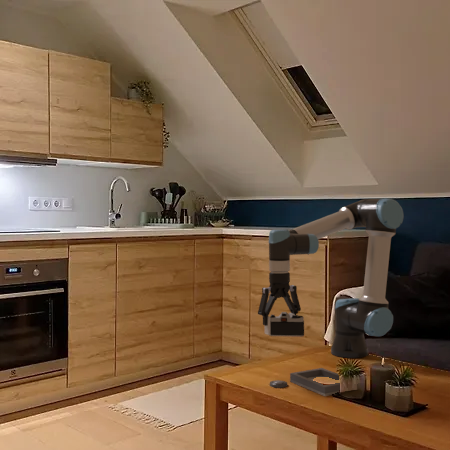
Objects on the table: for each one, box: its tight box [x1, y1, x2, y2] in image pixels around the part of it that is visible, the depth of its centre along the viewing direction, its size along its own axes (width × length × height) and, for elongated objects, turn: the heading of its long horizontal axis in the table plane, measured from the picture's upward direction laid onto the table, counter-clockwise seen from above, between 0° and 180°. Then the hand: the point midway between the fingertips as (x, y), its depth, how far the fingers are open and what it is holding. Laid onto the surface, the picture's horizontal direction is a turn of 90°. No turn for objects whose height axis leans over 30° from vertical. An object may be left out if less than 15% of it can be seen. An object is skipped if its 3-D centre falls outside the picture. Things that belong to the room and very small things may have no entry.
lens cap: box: [269, 379, 288, 389], centre depth 209 cm, size 6×6×2 cm
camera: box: [268, 311, 305, 338], centre depth 221 cm, size 13×8×9 cm, turn 84°
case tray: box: [289, 367, 340, 397], centre depth 209 cm, size 14×19×3 cm
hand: (279, 332), depth 222 cm, fingers closed on camera, 10 cm apart
